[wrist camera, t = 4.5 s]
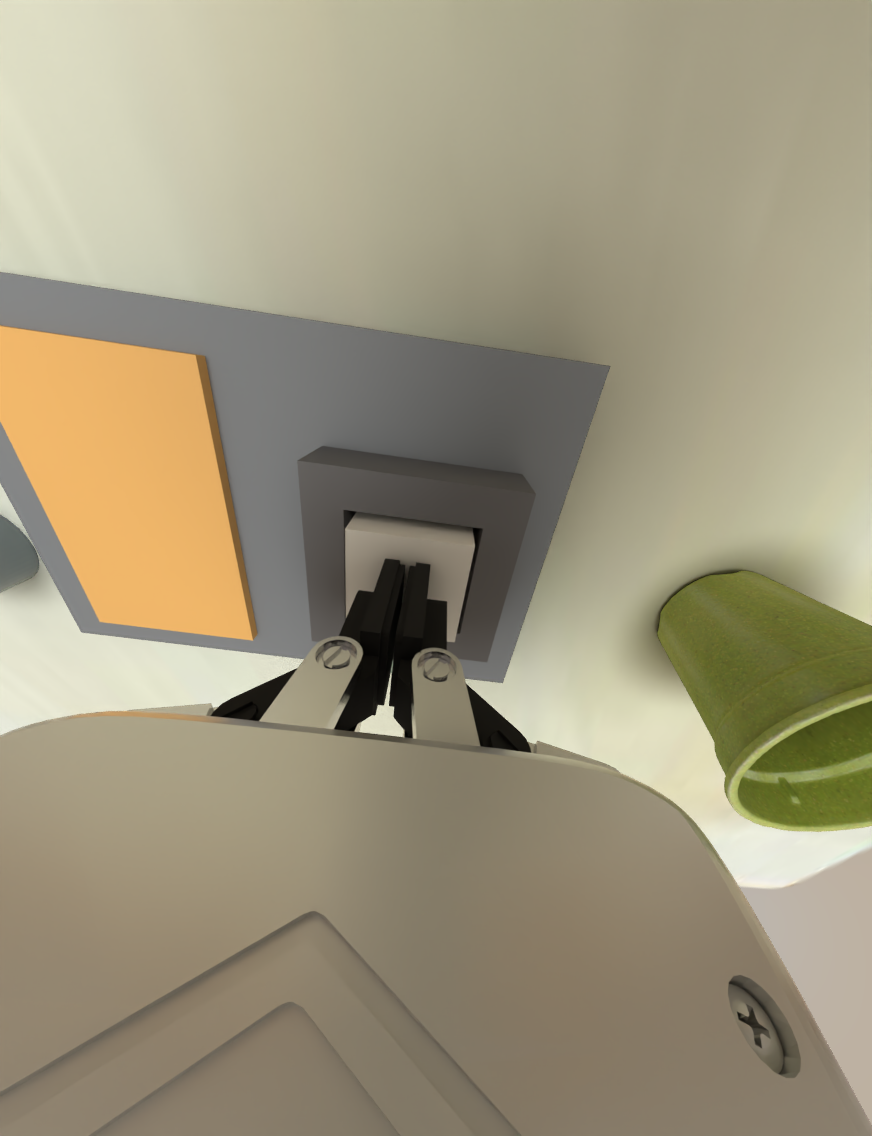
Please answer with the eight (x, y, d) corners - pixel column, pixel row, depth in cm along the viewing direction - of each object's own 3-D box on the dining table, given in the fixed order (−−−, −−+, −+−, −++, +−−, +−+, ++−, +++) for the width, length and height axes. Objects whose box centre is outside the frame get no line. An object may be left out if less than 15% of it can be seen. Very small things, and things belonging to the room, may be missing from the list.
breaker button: (470, 513, 14) (474, 546, 11) (454, 598, 16) (454, 642, 14) (364, 499, 14) (345, 529, 11) (363, 587, 16) (345, 629, 13)
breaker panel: (589, 366, 13) (647, 364, 9) (498, 657, 21) (509, 721, 17) (-45, 269, 12) (-271, 222, 8) (112, 610, 20) (33, 666, 17)
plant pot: (847, 593, 18) (1129, 752, 11) (696, 691, 22) (819, 854, 15) (736, 505, 16) (991, 626, 8) (591, 633, 20) (674, 789, 13)
